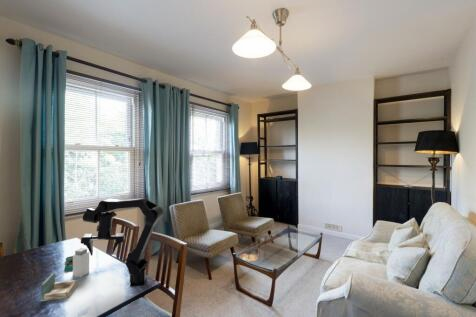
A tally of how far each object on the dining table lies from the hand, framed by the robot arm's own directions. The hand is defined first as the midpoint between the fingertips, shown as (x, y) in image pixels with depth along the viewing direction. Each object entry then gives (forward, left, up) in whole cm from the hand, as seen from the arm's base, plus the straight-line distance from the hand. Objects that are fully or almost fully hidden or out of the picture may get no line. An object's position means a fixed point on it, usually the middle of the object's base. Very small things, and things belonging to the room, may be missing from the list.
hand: (102, 254), depth 117 cm
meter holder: (+15, +9, -13) cm, 21 cm away
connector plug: (+13, -7, -13) cm, 20 cm away
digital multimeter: (+22, -19, -13) cm, 32 cm away
